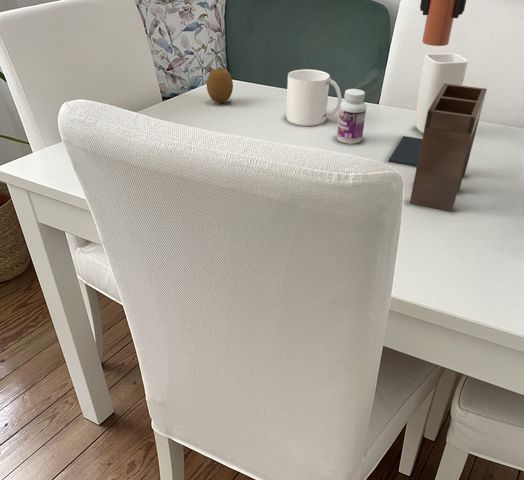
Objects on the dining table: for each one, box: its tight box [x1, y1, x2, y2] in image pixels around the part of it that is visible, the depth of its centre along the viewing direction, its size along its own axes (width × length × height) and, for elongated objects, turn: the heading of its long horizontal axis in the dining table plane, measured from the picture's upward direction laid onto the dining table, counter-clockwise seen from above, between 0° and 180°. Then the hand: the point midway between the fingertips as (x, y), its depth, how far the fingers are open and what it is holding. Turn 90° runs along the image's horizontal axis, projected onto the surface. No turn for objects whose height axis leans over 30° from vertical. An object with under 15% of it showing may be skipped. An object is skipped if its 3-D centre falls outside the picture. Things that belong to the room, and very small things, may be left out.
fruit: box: [206, 66, 234, 105], centre depth 134 cm, size 6×6×8 cm
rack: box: [409, 83, 488, 212], centre depth 97 cm, size 7×16×16 cm, turn 157°
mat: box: [388, 135, 422, 167], centre depth 115 cm, size 8×14×1 cm, turn 157°
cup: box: [415, 52, 469, 135], centre depth 119 cm, size 7×7×15 cm
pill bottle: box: [336, 88, 367, 145], centre depth 117 cm, size 5×5×10 cm
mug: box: [285, 68, 343, 127], centre depth 126 cm, size 12×9×9 cm
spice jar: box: [421, 0, 457, 47], centre depth 99 cm, size 5×5×9 cm
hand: (440, 15), depth 99 cm, fingers closed on spice jar, 4 cm apart
